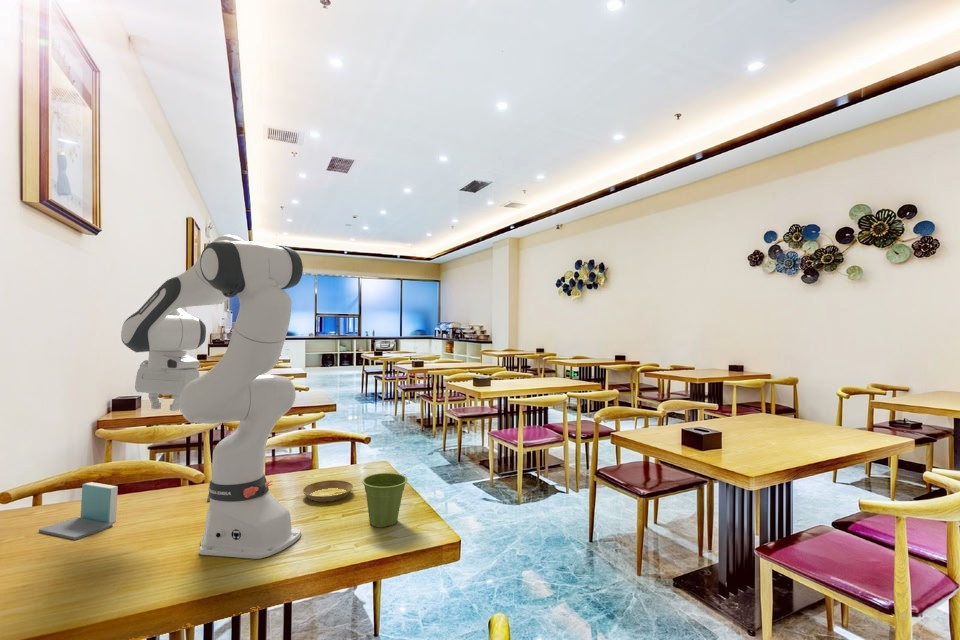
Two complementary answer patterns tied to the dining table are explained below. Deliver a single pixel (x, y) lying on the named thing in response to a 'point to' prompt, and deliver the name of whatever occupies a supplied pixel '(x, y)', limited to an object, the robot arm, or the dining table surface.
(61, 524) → the slate board
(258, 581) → the dining table surface
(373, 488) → the plant pot
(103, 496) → the tile
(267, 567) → the dining table surface
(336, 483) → the plant saucer
